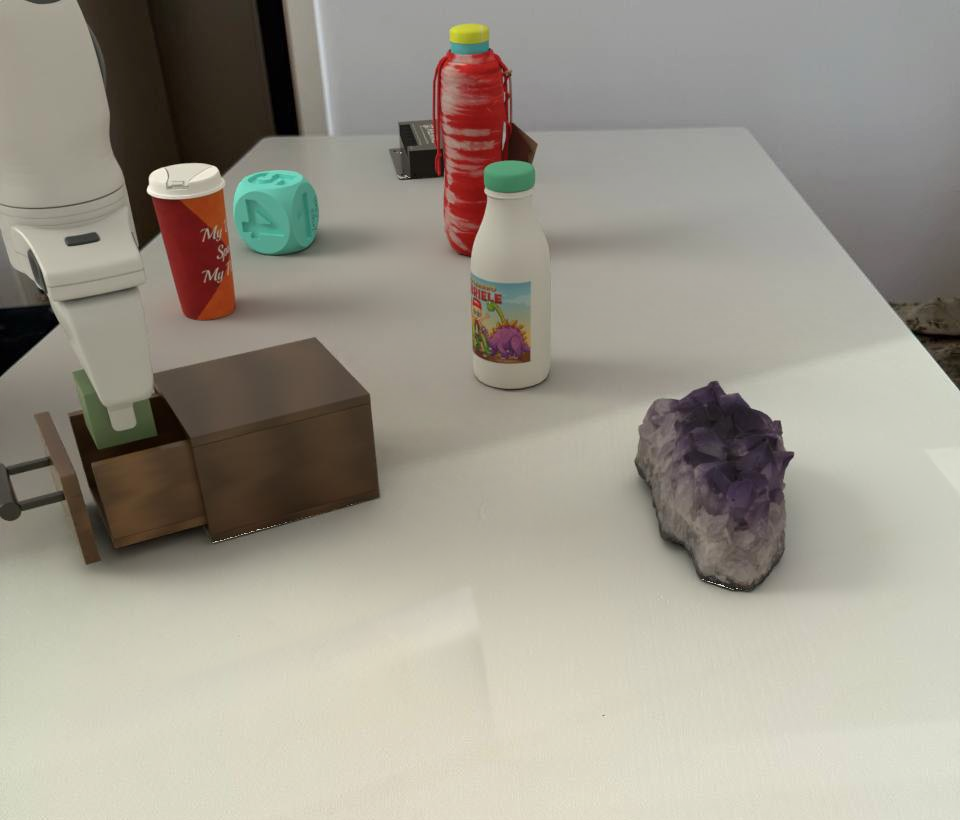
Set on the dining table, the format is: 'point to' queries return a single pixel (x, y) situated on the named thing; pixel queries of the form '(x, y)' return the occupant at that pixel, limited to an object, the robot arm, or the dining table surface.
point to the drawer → (116, 482)
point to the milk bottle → (510, 283)
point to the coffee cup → (195, 237)
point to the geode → (717, 483)
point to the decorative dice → (276, 212)
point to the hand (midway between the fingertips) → (115, 410)
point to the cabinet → (273, 435)
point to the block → (100, 422)
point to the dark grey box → (417, 150)
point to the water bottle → (472, 129)
